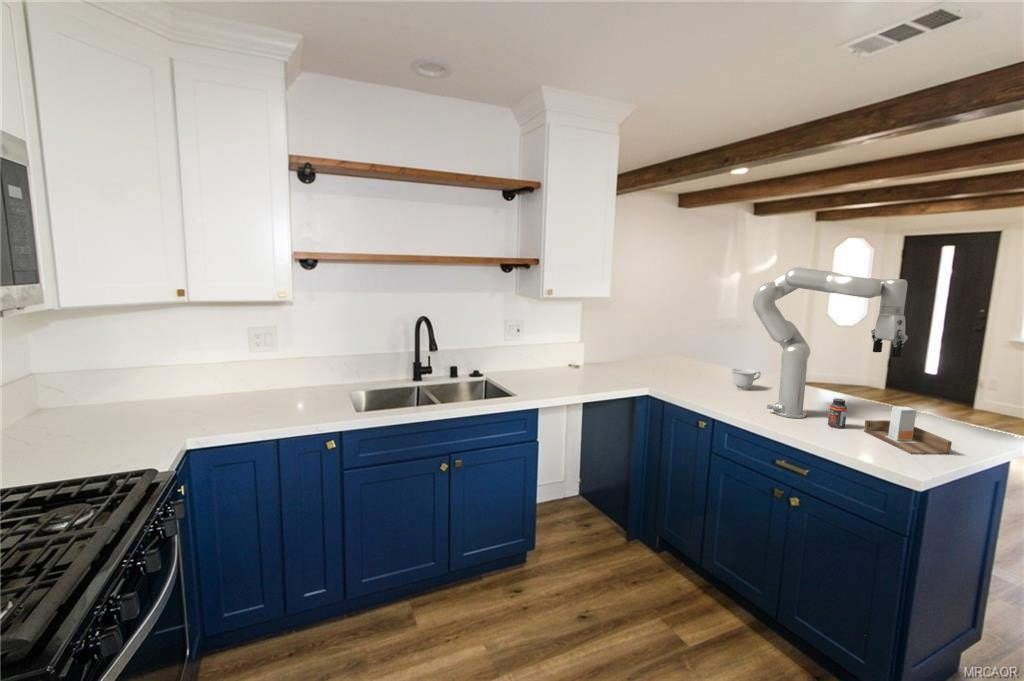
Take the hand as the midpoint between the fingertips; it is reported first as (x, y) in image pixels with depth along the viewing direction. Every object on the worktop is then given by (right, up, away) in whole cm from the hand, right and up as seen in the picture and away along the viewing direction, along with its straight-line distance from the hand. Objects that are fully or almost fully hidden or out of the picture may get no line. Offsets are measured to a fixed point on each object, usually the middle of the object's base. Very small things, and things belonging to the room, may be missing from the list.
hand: (886, 354), depth 189 cm
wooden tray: (-2, -32, -11) cm, 34 cm away
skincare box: (-2, -32, -9) cm, 33 cm away
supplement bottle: (-15, -30, +7) cm, 34 cm away
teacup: (-23, -21, +66) cm, 73 cm away
